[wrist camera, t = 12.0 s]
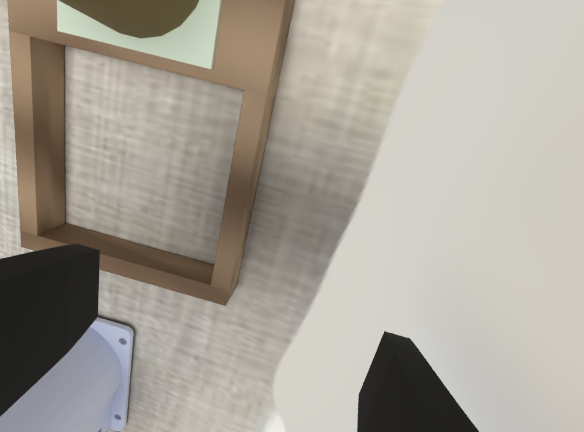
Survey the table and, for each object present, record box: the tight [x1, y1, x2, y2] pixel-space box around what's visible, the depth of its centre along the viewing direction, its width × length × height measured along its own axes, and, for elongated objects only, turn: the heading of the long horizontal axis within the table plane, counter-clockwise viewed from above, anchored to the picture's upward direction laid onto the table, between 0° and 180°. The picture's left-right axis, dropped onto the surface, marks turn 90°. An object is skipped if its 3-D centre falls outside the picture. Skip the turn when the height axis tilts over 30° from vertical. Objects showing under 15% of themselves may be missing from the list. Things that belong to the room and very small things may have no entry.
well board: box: [7, 0, 295, 306], centre depth 16 cm, size 20×12×2 cm, turn 167°
